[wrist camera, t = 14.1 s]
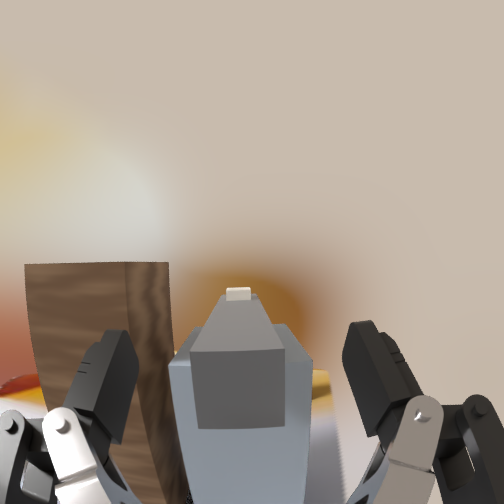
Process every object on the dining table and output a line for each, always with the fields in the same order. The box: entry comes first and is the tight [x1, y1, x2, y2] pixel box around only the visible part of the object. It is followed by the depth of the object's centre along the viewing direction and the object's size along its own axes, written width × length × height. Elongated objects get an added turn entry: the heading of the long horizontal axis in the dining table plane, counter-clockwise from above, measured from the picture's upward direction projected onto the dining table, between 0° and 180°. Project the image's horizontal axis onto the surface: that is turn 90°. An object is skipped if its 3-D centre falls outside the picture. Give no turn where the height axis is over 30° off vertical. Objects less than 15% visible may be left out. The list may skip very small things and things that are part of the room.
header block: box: [168, 324, 313, 504], centre depth 27 cm, size 14×11×24 cm
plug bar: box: [189, 287, 285, 429], centre depth 22 cm, size 22×4×5 cm, turn 2°
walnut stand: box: [25, 262, 189, 504], centre depth 26 cm, size 14×11×32 cm
